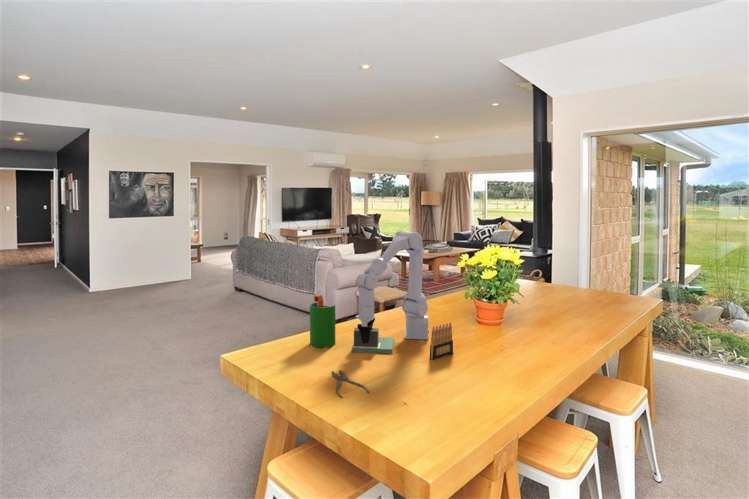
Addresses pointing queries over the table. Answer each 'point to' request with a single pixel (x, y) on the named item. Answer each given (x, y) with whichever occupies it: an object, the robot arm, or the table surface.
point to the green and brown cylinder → (322, 323)
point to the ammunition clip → (441, 342)
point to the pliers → (345, 378)
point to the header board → (383, 347)
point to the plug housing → (372, 339)
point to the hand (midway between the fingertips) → (366, 339)
